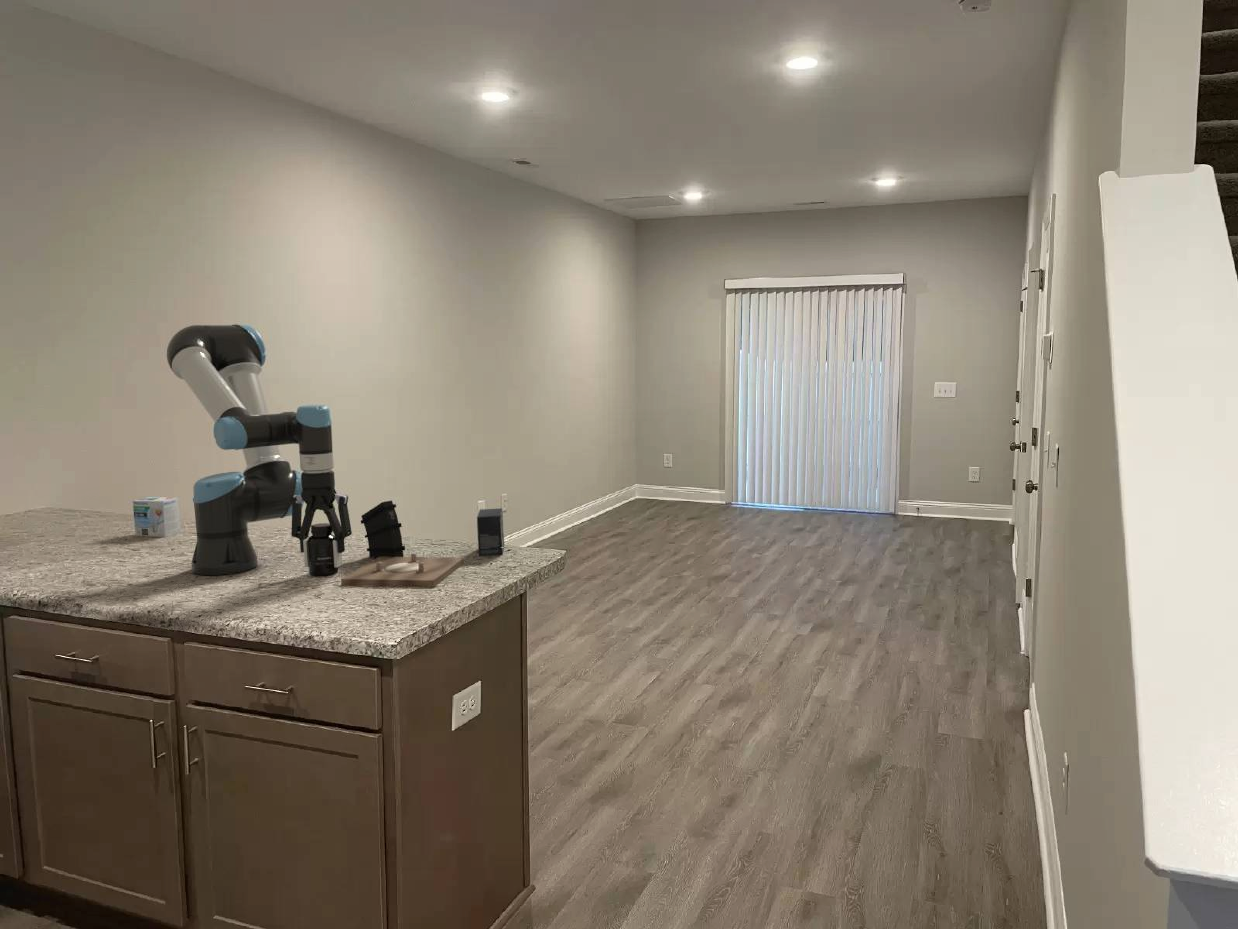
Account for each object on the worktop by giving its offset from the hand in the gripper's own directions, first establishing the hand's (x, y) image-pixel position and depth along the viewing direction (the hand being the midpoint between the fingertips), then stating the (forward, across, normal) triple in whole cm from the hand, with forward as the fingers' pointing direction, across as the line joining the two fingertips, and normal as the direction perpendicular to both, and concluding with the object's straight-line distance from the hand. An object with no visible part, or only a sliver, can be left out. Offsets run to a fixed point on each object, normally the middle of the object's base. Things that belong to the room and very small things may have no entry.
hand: (323, 565), depth 222 cm
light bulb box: (+2, -73, +43) cm, 85 cm away
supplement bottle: (+2, 0, 0) cm, 2 cm away
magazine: (+2, +8, +17) cm, 19 cm away
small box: (+2, +34, +26) cm, 43 cm away
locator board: (+2, +20, +1) cm, 20 cm away
